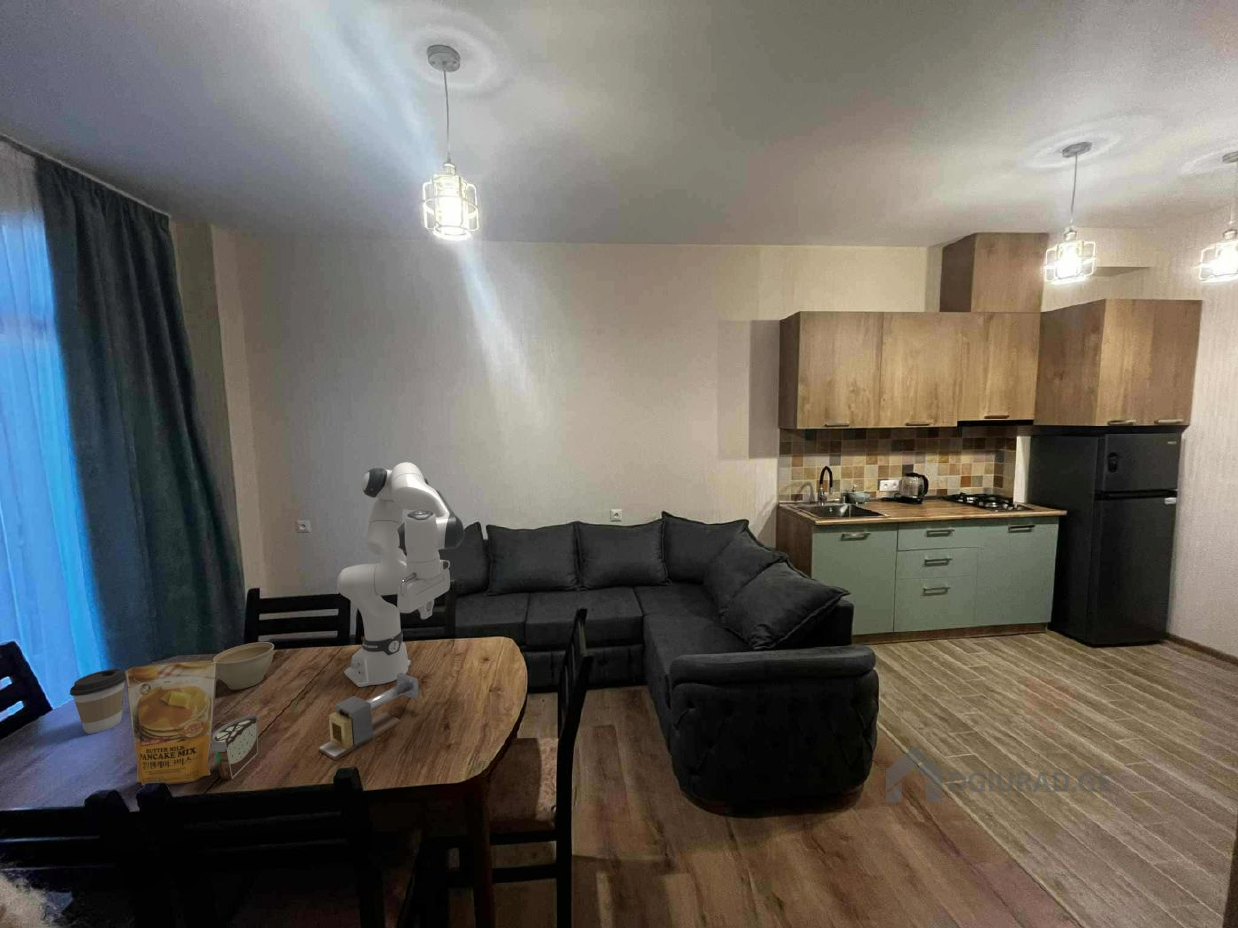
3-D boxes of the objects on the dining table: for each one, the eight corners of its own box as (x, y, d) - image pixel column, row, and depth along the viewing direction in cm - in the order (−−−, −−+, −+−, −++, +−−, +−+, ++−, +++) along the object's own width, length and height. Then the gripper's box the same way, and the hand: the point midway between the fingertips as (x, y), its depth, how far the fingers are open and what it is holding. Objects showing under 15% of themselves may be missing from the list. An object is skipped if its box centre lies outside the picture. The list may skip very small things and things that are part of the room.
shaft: (344, 720, 130) (343, 700, 130) (402, 690, 145) (401, 672, 145) (361, 729, 126) (359, 708, 126) (418, 696, 141) (417, 678, 141)
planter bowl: (275, 684, 159) (272, 653, 159) (212, 701, 150) (209, 668, 150) (277, 666, 173) (274, 637, 172) (219, 680, 164) (216, 650, 163)
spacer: (330, 741, 127) (328, 715, 126) (338, 737, 128) (336, 711, 128) (345, 749, 123) (343, 722, 123) (353, 745, 125) (351, 718, 124)
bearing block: (338, 739, 129) (335, 704, 128) (356, 729, 133) (353, 695, 132) (354, 748, 125) (352, 712, 124) (373, 738, 129) (370, 703, 128)
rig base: (318, 750, 125) (318, 747, 124) (383, 714, 140) (382, 711, 140) (335, 760, 120) (335, 756, 120) (399, 722, 136) (399, 719, 136)
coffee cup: (140, 718, 142) (135, 669, 141) (87, 741, 132) (82, 689, 131) (117, 712, 146) (112, 664, 145) (64, 734, 135) (59, 683, 134)
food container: (237, 751, 125) (233, 715, 125) (261, 749, 126) (258, 713, 125) (199, 785, 113) (196, 745, 112) (227, 783, 113) (223, 743, 113)
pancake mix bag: (147, 770, 119) (136, 661, 117) (228, 762, 121) (219, 655, 119) (121, 790, 112) (110, 675, 111) (208, 781, 114) (198, 668, 113)
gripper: (411, 579, 123) (414, 632, 124) (452, 559, 143) (455, 605, 144) (389, 579, 124) (392, 631, 125) (433, 559, 144) (436, 604, 145)
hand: (426, 617), depth 134 cm, fingers closed
